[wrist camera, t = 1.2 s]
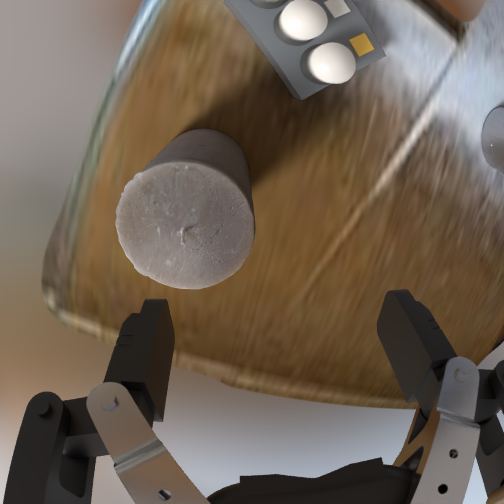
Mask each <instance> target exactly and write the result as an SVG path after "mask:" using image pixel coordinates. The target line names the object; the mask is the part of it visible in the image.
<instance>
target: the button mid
mask: <svg viewBox="0 0 504 504" xmlns="http://www.w3.org/2000/svg"><path fill="white" fill-rule="evenodd" d="M327 23H328V19H327V15H326V12H325V11H324V9H323V8H322V7H321V6H320V5H319V4H317V3H316V2H314V1H311V0H294V1H292V2H290V3H289V4H288V5H287V6H286V7H285V9H284V10H283V11H282V13H281V14H280V16H279V27H280V29H281V31H282V32H283V34H284V35H285V36H287V37H288V38H290V39H292V40H295V41H308V40H310V39H313V38H315V37H317V36H319V35H320V34H322V33H323V32H324V30H325V29H326V27H327Z"/></svg>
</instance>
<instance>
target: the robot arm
mask: <svg viewBox="0 0 504 504" xmlns="http://www.w3.org/2000/svg"><path fill="white" fill-rule="evenodd" d="M482 148H483V153H484V156H485V158H486V160H487V162H488V163H489V164H490V166H492V167H493V168H495V169H497V170H498V171H500V172H502V173H504V107H498V108H496V109H494V110H493V111H492V112H491V113H490V114H489V115H488V117H487V119H486V121H485V123H484V127H483V131H482ZM377 333H378V336H379V339H380V341H381V343H382V345H383V348H384V350H385V352H386V354H387V357H388V359H389V361H390V364H391V366H392V368H393V371H394V373H395V375H396V378H397V380H398V383H399V385H400V387H401V390H402V392H403V395H404V397H405V400H406V402H407V403H408V402H412V401H416V400H418V403H419V406H418V407H417V409H416V412H415V415H414V418H413V421H412V424H411V427H410V430H409V432H408V435H407V438H406V440H405V443H404V445H403V448H402V450H401V452H400V453H399V455H398V456H397V458H396V460H395V461H394V463H393V465H383V462H382V458H381V457H380V458H376V459H371V460H367V461H362V462H358V463H353V464H349V465H347V466H344V467H342V468H340V469H338V470H335V471H333V472H330V473H328V474H326V475H323V476H320V477H317V478H304V477H295V476H287V475H279V474H271V475H255V476H240V483H237V484H233V485H230V486H227V487H224V488H222V489H220V490H218V491H216V492H214V493H213V494H211V495H210V496H208V497H207V498H205V497H204V496H203V495H202V493H201V492H200V491H199V490H198V489H197V487H196V486H195V485H194V484H193V483H192V481H191V480H190V479H189V478H188V476H187V475H186V474H185V473H184V471H183V470H182V469H181V467H180V466H179V465H178V464H177V462H176V461H175V460H174V458H173V457H172V456H171V454H170V453H169V451H168V450H167V449H166V447H165V446H164V445H163V443H162V442H161V441H160V440H159V439H158V437H157V436H156V435H155V433H154V431H153V430H152V427H153V421H157V422H163V417H164V410H165V402H166V396H167V389H168V382H169V375H170V369H171V363H172V357H173V351H174V344H175V335H174V328H173V324H172V319H171V315H170V310H169V306H168V302H167V300H166V299H145V301H144V303H143V306H142V309H141V312H140V313H132V314H131V315H130V316H129V317H128V318H127V319H126V320H125V321H124V323H123V324H122V327H121V330H120V333H119V337H118V339H117V342H116V346H115V347H114V351H113V353H112V357H111V360H110V363H109V366H108V369H107V372H106V376H105V379H104V381H103V383H102V384H99V385H98V386H96V387H95V388H93V389H92V390H91V392H90V393H89V395H88V396H87V397H84V398H78V399H72V400H65V401H62V400H61V399H60V398H59V396H57V395H56V394H55V393H52V392H41V393H39V394H37V395H35V396H34V397H33V398H32V399H31V400H30V401H29V403H28V405H27V408H26V411H25V414H24V417H23V421H22V424H21V427H20V431H19V434H18V438H17V441H16V445H15V449H14V453H13V457H12V461H11V465H10V470H9V474H8V479H7V484H6V489H5V495H4V501H3V504H91V497H92V487H93V478H94V471H95V463H96V457H97V456H104V455H111V457H112V459H113V461H114V469H115V471H116V473H117V475H118V477H119V478H120V480H121V482H122V483H123V485H124V487H125V488H126V490H127V491H128V493H129V495H130V496H131V498H132V499H133V501H134V502H135V504H462V502H463V500H464V497H465V493H466V490H467V486H468V483H469V479H470V476H471V472H472V467H473V463H474V459H475V456H476V459H477V463H478V466H479V469H480V472H481V476H482V479H483V482H484V486H485V489H486V493H487V497H488V499H487V501H486V504H504V432H503V430H502V427H501V425H500V422H499V420H498V418H497V415H496V414H497V413H498V412H499V411H500V410H502V412H503V414H504V360H502V361H500V362H499V363H498V364H497V366H496V367H495V368H494V370H484V369H477V367H476V366H475V364H474V363H473V362H472V361H470V360H469V359H466V358H464V357H458V356H457V355H456V353H455V351H454V350H453V348H452V346H451V345H450V343H449V341H448V340H447V338H446V336H445V335H444V333H443V331H442V330H441V329H440V327H439V325H438V323H437V322H436V321H435V319H434V317H433V315H432V314H431V312H430V311H429V309H428V308H426V307H425V306H424V305H423V304H421V303H420V302H419V301H415V299H414V298H413V296H412V295H411V293H410V292H409V291H408V290H407V289H403V290H391V291H388V292H387V294H386V296H385V299H384V302H383V306H382V309H381V312H380V315H379V318H378V321H377Z"/></svg>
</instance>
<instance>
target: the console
mask: <svg viewBox="0 0 504 504" xmlns="http://www.w3.org/2000/svg"><path fill="white" fill-rule="evenodd" d="M292 1H294V0H281V1H278V2H266V1H262V0H224V3H225V5H226V6H227V7H228V8H229V9H230V11H231V12H232V13H233V14H234V16H235V17H236V18H237V19H238V21H239V22H240V23H241V24H242V26H243V27H244V28H245V30H246V31H247V32H248V34H249V35H250V36H251V37H252V39H253V40H254V41H255V43H256V44H257V45H258V47H259V48H260V50H261V51H262V52H263V54H264V55H265V56H266V58H267V59H268V61H269V62H270V63H271V65H272V66H273V68H274V69H275V71H276V72H277V73H278V75H279V76H280V78H281V79H282V81H283V82H284V84H285V85H286V87H287V88H288V90H289V91H290V93H291V94H292V96H293V97H294V98H296V99H299V100H304V99H305V98H307V97H309V96H311V95H312V94H314V93H316V92H318V91H320V90H321V89H323V88H325V87H327V86H329V85H330V84H332V83H324V82H321V81H319V80H317V79H315V78H314V77H313V76H312V75H311V73H310V72H309V70H308V67H307V58H308V55H309V53H310V52H311V51H312V50H313V49H314V48H316V47H318V46H320V45H323V44H326V43H331V42H334V43H339V44H342V45H344V46H345V47H347V48H348V49H349V50H350V51H351V52H352V54H353V56H354V58H355V61H356V68H355V71H357V70H359V69H361V68H363V67H365V66H367V65H369V64H371V63H373V62H375V61H377V60H379V59H381V58H383V57H385V56H386V55H385V53H384V51H383V49H382V47H381V46H380V44H379V42H378V40H377V39H376V37H375V35H374V34H373V32H372V30H371V29H370V27H369V25H368V24H367V22H366V20H365V19H364V17H363V16H362V14H361V13H360V11H359V10H358V8H357V7H356V5H355V4H354V2H353V1H352V0H311V1H314V2H316V3H317V4H319V5H320V6H321V7H322V8H323V9H324V11H325V12H326V15H327V19H328V23H327V27H326V29H325V30H324V32H323V33H322V34H320V35H319V36H317V37H315V38H313V39H310V40H308V41H295V40H292V39H290V38H288V37H287V36H285V35H284V34H283V32H282V31H281V29H280V27H279V16H280V14H281V13H282V11H283V10H284V9H285V7H286V6H287V5H288V4H289V3H290V2H292Z"/></svg>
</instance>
